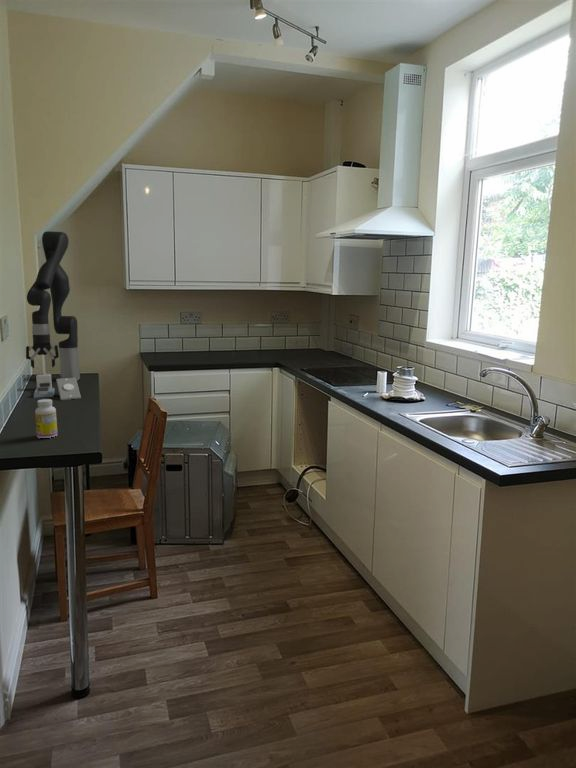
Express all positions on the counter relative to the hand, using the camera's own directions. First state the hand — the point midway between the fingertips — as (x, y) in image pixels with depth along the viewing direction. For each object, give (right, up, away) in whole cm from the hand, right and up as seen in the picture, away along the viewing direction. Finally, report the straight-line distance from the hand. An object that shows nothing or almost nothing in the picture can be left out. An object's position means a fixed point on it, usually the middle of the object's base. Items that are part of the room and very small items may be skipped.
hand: (43, 367), depth 283 cm
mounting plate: (+4, -13, -8) cm, 15 cm away
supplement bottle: (+34, -26, -78) cm, 89 cm away
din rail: (+4, -11, -9) cm, 14 cm away
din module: (0, -11, +2) cm, 11 cm away
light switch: (+17, -14, -14) cm, 26 cm away
